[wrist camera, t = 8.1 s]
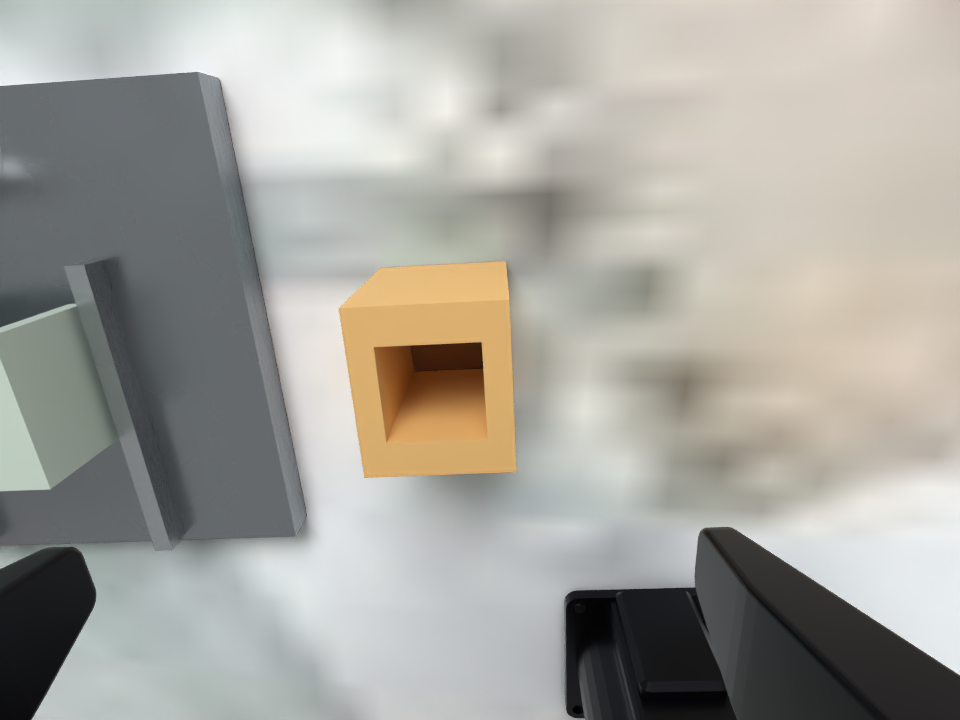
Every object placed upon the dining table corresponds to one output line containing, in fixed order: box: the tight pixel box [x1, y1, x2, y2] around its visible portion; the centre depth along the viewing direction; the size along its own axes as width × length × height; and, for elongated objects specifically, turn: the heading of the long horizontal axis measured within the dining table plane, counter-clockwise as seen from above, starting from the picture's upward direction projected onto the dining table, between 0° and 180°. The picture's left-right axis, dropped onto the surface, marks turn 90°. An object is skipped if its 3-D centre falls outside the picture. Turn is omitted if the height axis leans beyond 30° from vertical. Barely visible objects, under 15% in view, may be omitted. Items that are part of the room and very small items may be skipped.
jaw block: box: [339, 261, 517, 478], centre depth 16 cm, size 5×4×5 cm
